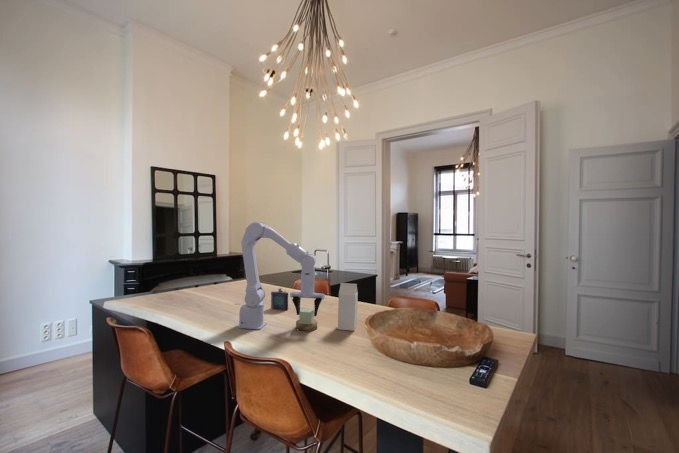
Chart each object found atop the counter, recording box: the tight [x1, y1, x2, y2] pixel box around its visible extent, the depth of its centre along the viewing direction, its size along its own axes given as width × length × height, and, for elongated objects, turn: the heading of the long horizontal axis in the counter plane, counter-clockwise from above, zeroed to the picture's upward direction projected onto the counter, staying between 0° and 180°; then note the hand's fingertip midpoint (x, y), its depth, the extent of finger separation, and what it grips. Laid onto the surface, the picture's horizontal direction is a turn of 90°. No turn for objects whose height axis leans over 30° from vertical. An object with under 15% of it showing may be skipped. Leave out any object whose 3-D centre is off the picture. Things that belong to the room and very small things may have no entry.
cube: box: [298, 308, 315, 324], centre depth 131 cm, size 5×5×5 cm
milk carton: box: [337, 282, 359, 332], centre depth 132 cm, size 7×7×19 cm
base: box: [295, 319, 318, 332], centre depth 131 cm, size 9×9×2 cm
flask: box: [270, 287, 289, 312], centre depth 158 cm, size 9×3×11 cm, turn 76°
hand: (306, 315), depth 131 cm, fingers open, 7 cm apart
